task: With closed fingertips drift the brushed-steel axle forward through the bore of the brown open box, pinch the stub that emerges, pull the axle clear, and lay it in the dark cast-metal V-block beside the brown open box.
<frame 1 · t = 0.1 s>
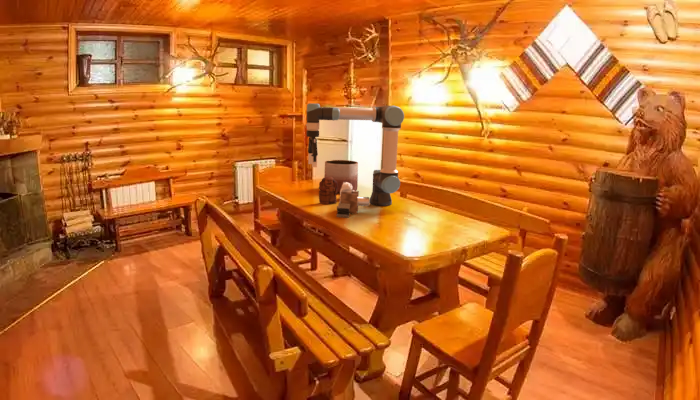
hand: (312, 165, 262), 28 cm above the table, fingers open, 13 cm apart
wooden figurine: (328, 203, 289), on the table
figurine: (346, 199, 302), on the table
axle: (354, 205, 268), point 4 cm above the table, touching brown open box
brown open box: (349, 211, 269), on the table
planter: (340, 191, 331), on the table
v block: (343, 215, 259), on the table
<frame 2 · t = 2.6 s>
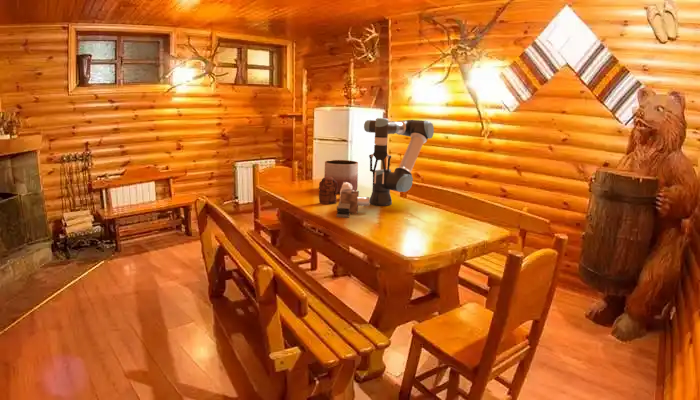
hand: (378, 183, 263), 19 cm above the table, fingers open, 4 cm apart
nothing on the table moved.
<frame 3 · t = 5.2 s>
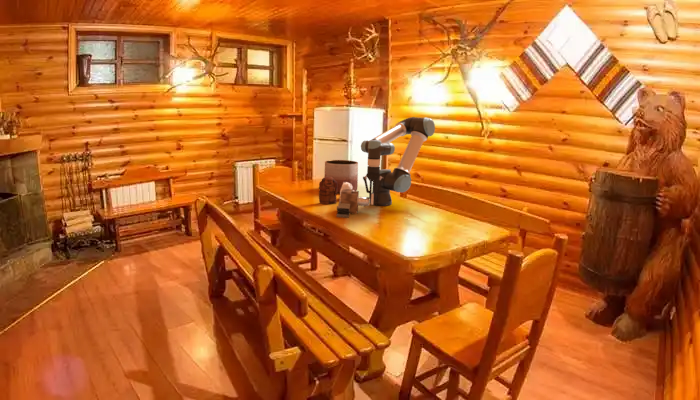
hand: (372, 204, 267), 5 cm above the table, fingers closed
axle: (354, 205, 268), point 4 cm above the table, touching gripper
everything else where it was.
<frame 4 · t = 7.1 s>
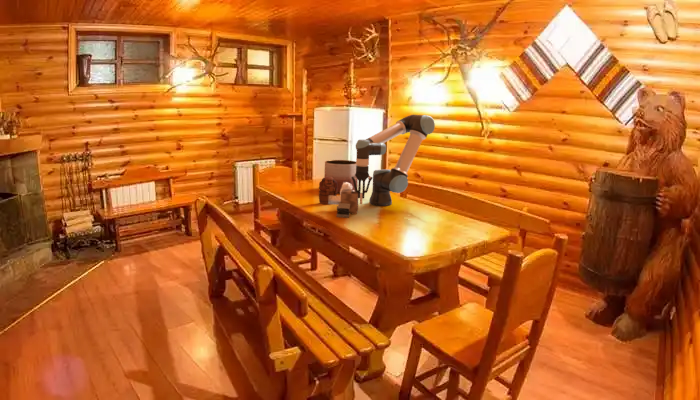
hand: (361, 203, 267), 5 cm above the table, fingers closed
axle: (343, 204, 269), point 4 cm above the table, touching brown open box, gripper
everything else where it was.
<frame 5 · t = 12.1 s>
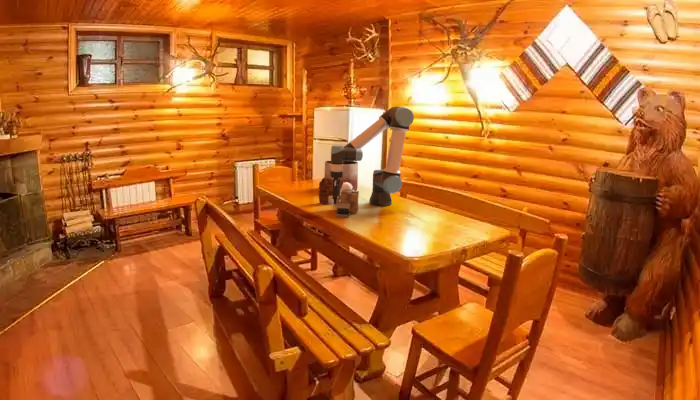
hand: (335, 207, 269), 2 cm above the table, fingers closed on axle, 5 cm apart
axle: (343, 204, 269), point 4 cm above the table, touching brown open box, gripper
everything else where it was.
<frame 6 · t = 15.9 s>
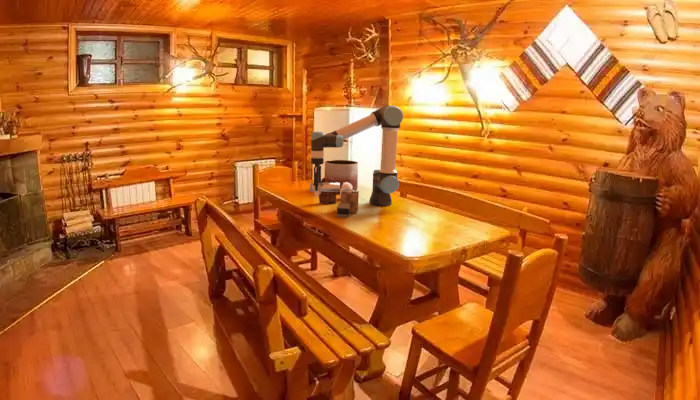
hand: (317, 194, 269), 9 cm above the table, fingers closed on axle, 5 cm apart
axle: (325, 191, 268), point 12 cm above the table, touching gripper
everything else where it was.
when the fingers open (3 cm above the table, at t = 20.0 s): axle drops 2 cm, resting on v block.
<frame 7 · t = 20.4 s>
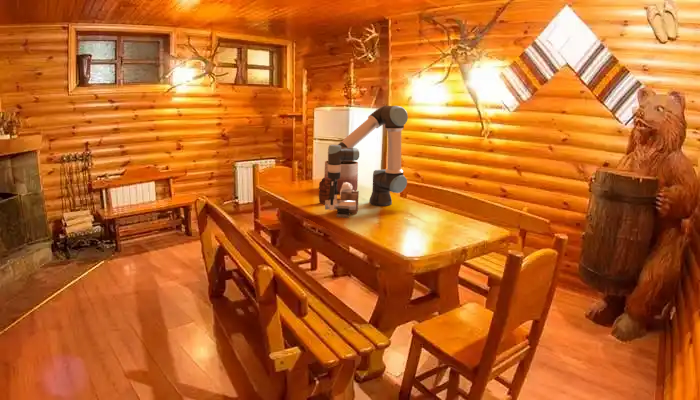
hand: (333, 207, 258), 5 cm above the table, fingers open, 12 cm apart
axle: (340, 209, 258), point 4 cm above the table, touching v block
everything else where it was.
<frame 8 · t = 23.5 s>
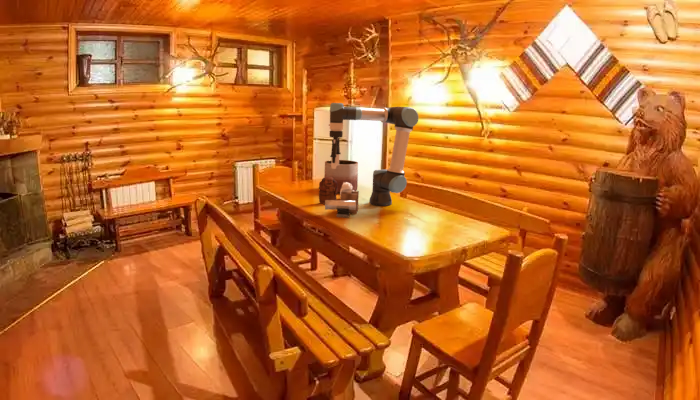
hand: (335, 166, 254), 29 cm above the table, fingers open, 13 cm apart
nothing on the table moved.
at the end: axle inside the target area on the v block (0.8 cm from its centre), point 3.7 cm above the v block's base; the gripper is holding nothing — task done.
